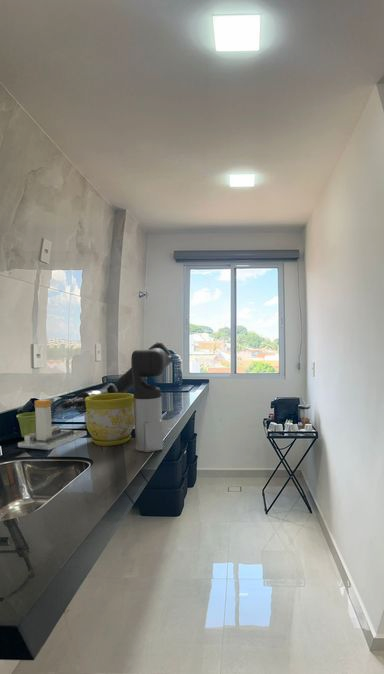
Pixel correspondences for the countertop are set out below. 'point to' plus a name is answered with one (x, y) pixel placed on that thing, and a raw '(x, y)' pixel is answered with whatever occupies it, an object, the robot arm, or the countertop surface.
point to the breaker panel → (51, 439)
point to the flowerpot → (110, 418)
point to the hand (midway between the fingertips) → (63, 406)
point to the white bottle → (43, 419)
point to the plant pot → (27, 423)
